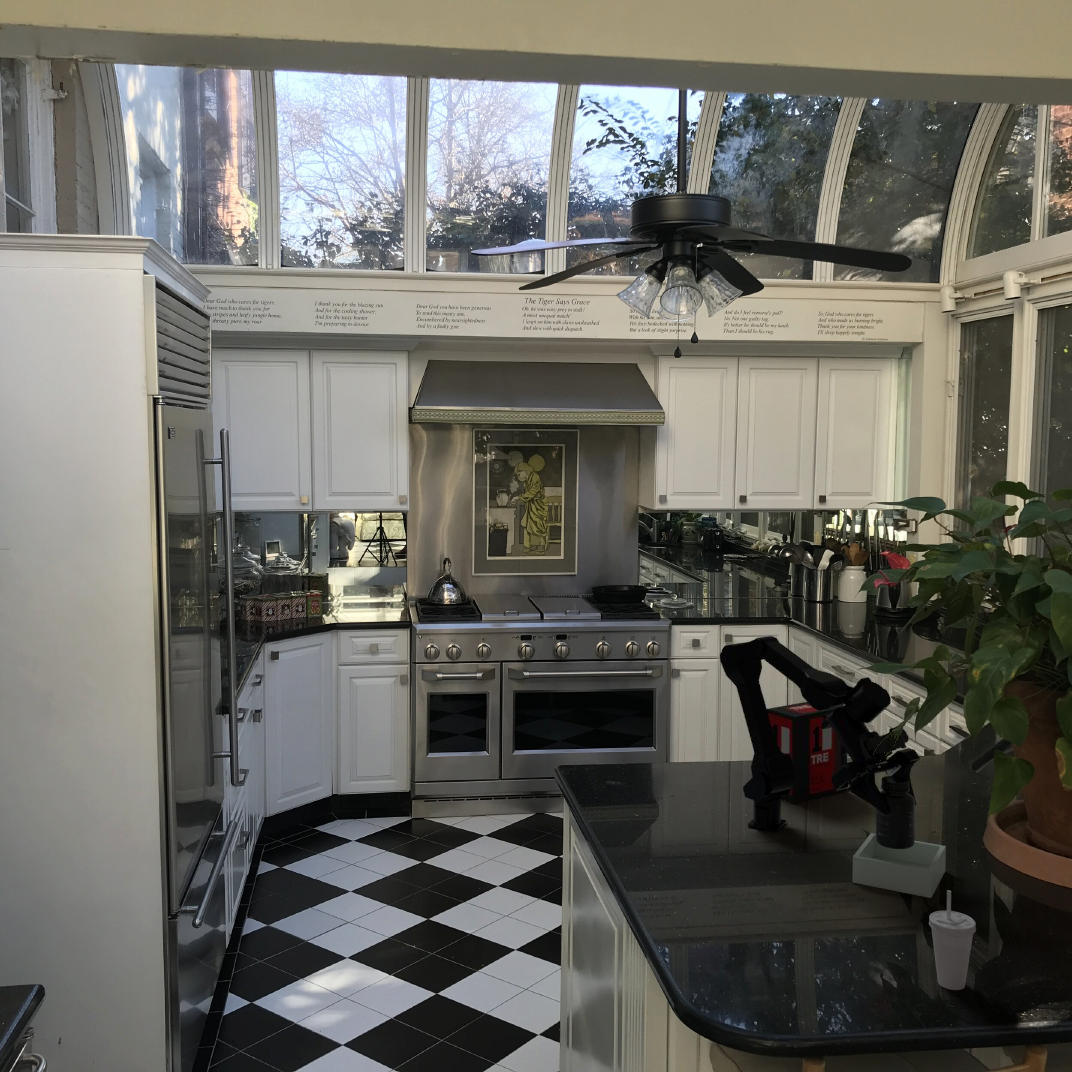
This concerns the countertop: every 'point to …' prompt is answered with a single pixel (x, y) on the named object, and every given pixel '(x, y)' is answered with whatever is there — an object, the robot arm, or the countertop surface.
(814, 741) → the cleaning product box
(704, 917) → the countertop surface
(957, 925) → the smoothie
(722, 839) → the countertop surface
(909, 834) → the supplement bottle
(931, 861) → the box
